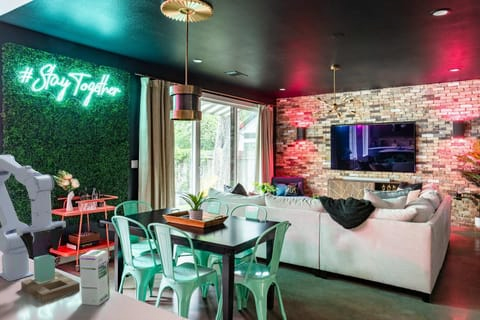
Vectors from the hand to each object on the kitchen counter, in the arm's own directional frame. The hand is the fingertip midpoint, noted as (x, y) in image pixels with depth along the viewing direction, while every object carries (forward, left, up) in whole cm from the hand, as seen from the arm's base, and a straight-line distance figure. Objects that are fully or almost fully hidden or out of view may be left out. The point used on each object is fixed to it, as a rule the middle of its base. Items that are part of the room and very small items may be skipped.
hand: (43, 252), depth 118 cm
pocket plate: (+7, -1, -10) cm, 13 cm away
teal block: (+3, -1, -8) cm, 8 cm away
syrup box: (+25, +4, -11) cm, 28 cm away
